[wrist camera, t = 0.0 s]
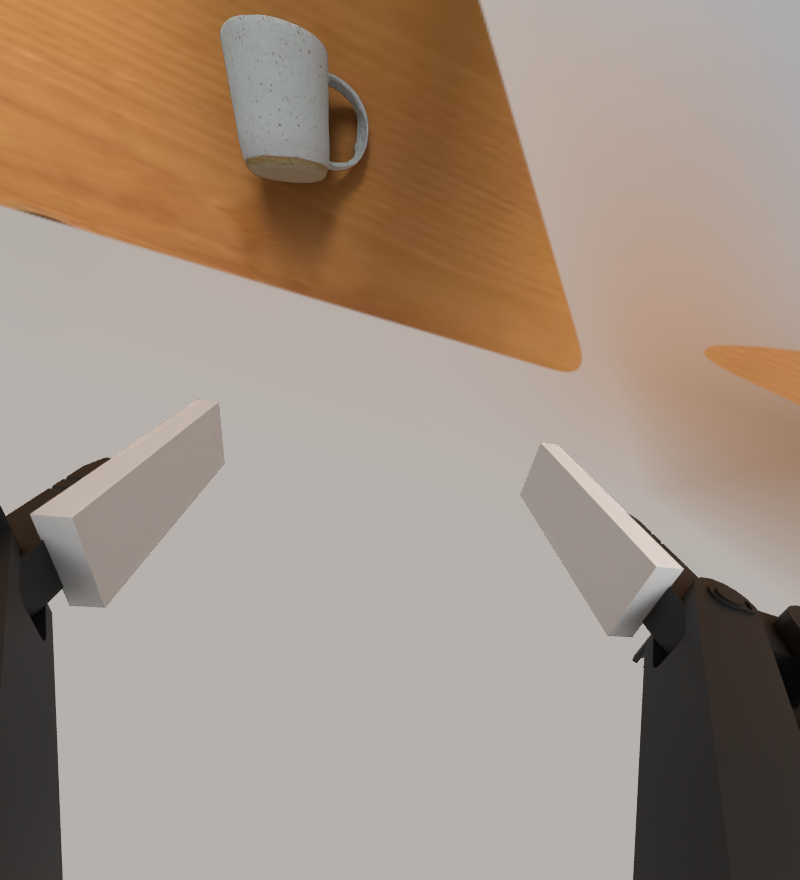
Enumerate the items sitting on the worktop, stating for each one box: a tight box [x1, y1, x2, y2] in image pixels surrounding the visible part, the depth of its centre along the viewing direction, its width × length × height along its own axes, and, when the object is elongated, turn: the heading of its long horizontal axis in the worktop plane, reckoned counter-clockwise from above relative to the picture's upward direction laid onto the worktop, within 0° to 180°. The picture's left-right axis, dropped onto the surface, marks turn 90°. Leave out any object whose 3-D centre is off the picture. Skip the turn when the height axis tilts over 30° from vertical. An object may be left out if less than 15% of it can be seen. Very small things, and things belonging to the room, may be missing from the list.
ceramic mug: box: [220, 14, 369, 183], centre depth 27 cm, size 11×8×8 cm
